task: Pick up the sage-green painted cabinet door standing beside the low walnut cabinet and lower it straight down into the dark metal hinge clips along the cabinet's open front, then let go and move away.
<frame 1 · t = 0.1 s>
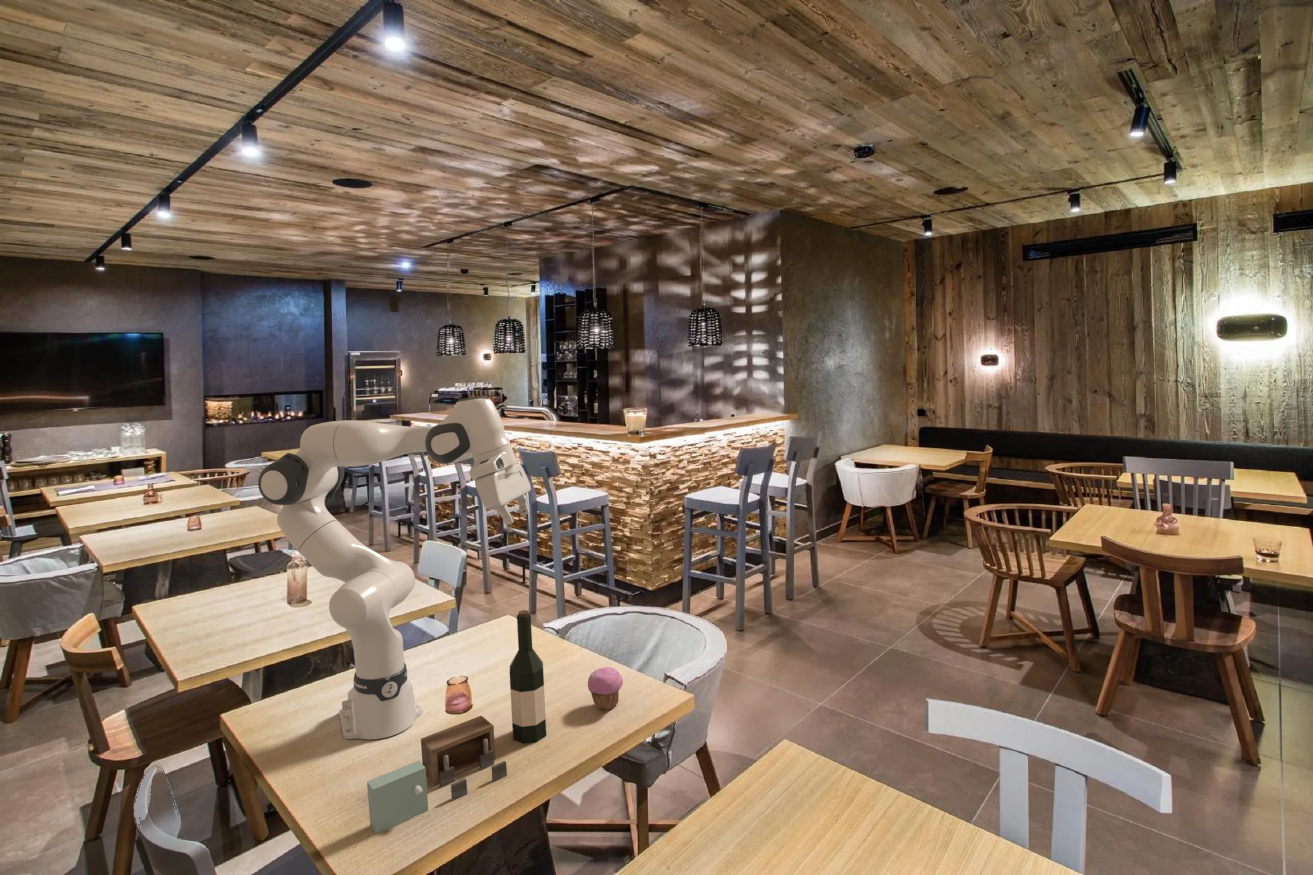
hand: (518, 519, 154), 52 cm above the table, tool tilted 20°, fingers open, 8 cm apart
cabinet: (459, 766, 147), on the table
wine bottle: (529, 734, 159), on the table
door: (399, 817, 131), on the table
cupcake: (606, 707, 171), on the table
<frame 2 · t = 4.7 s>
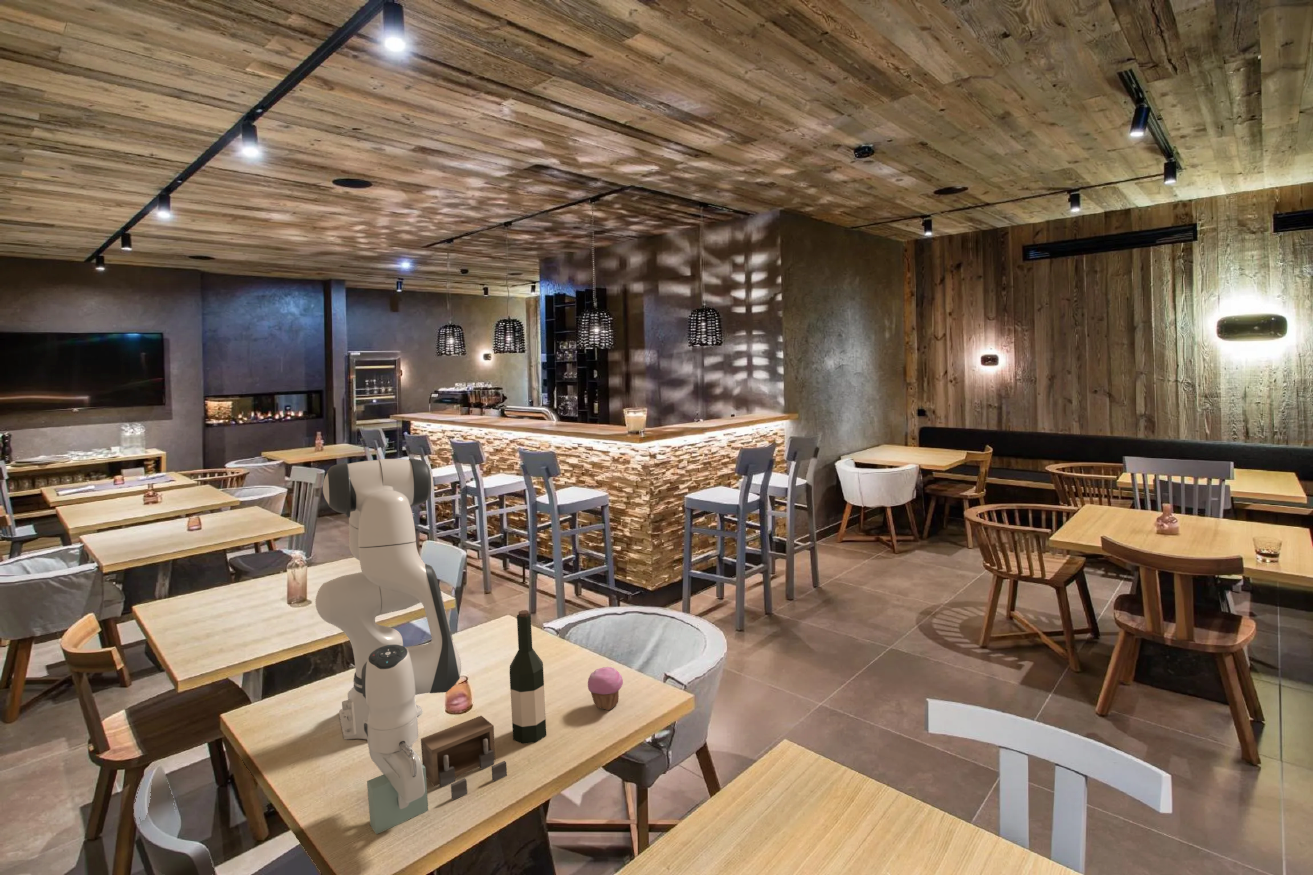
hand: (398, 800, 130), 4 cm above the table, tool pointing down, fingers closed on door, 3 cm apart
door: (399, 817, 131), on the table, touching gripper
everything else where it was.
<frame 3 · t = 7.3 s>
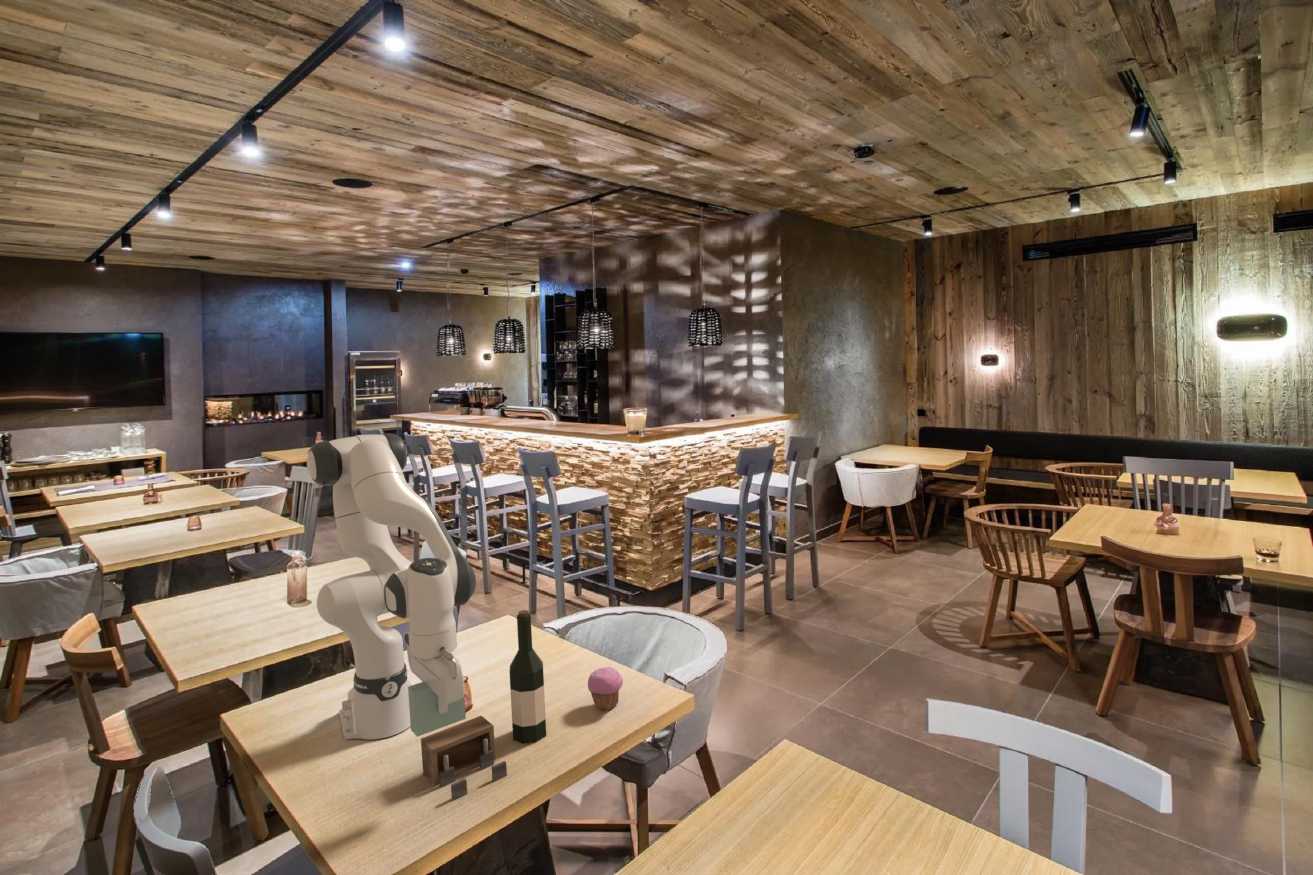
hand: (437, 706, 135), 19 cm above the table, tool pointing down, fingers closed on door, 3 cm apart
door: (438, 724, 135), point 15 cm above the table, touching gripper
everything else where it was.
when the fingers open (8 cm above the table, at t = 10.2 s): door drops 4 cm, on the table.
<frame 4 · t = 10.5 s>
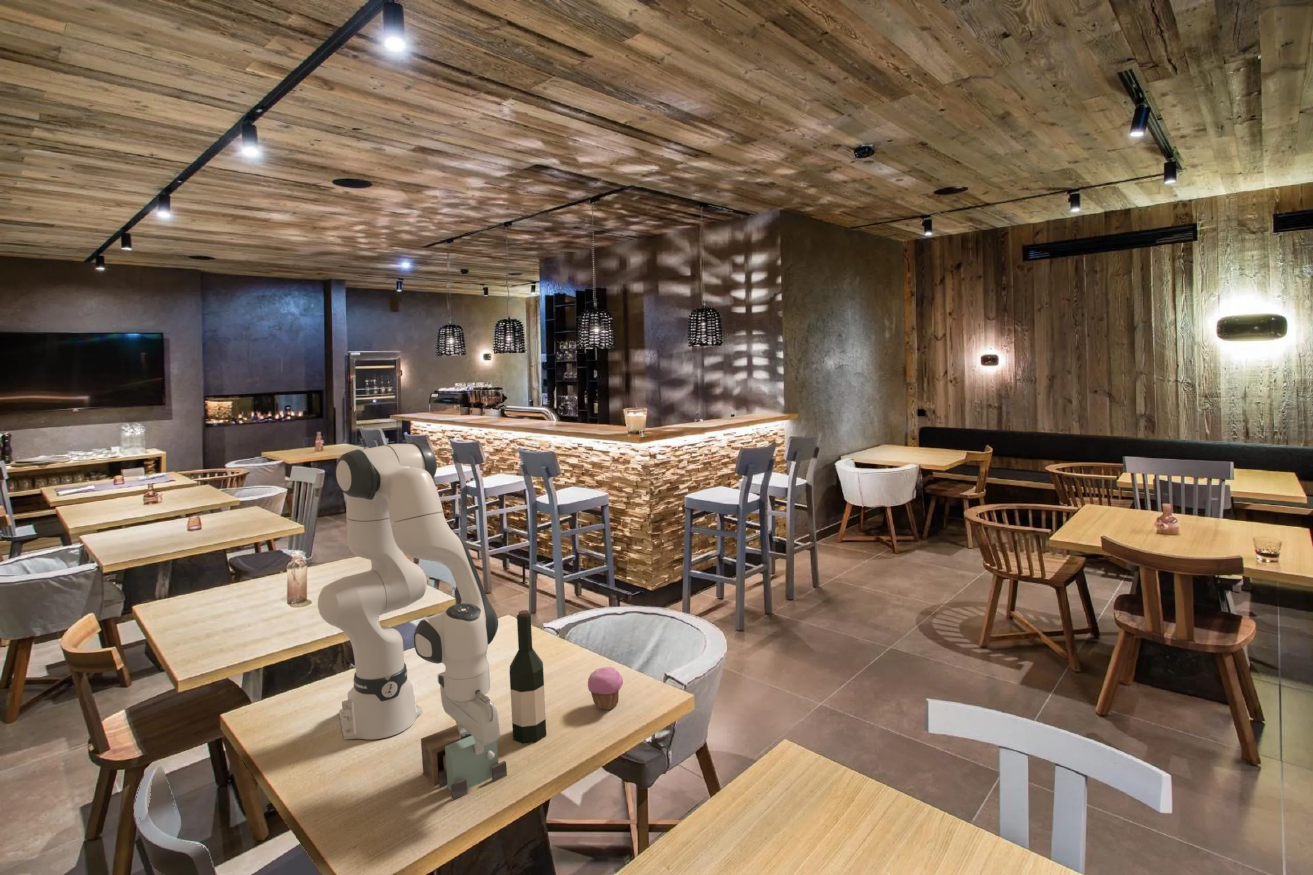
hand: (471, 746, 141), 8 cm above the table, tool pointing down, fingers open, 5 cm apart
door: (473, 780, 142), on the table
everything else where it was.
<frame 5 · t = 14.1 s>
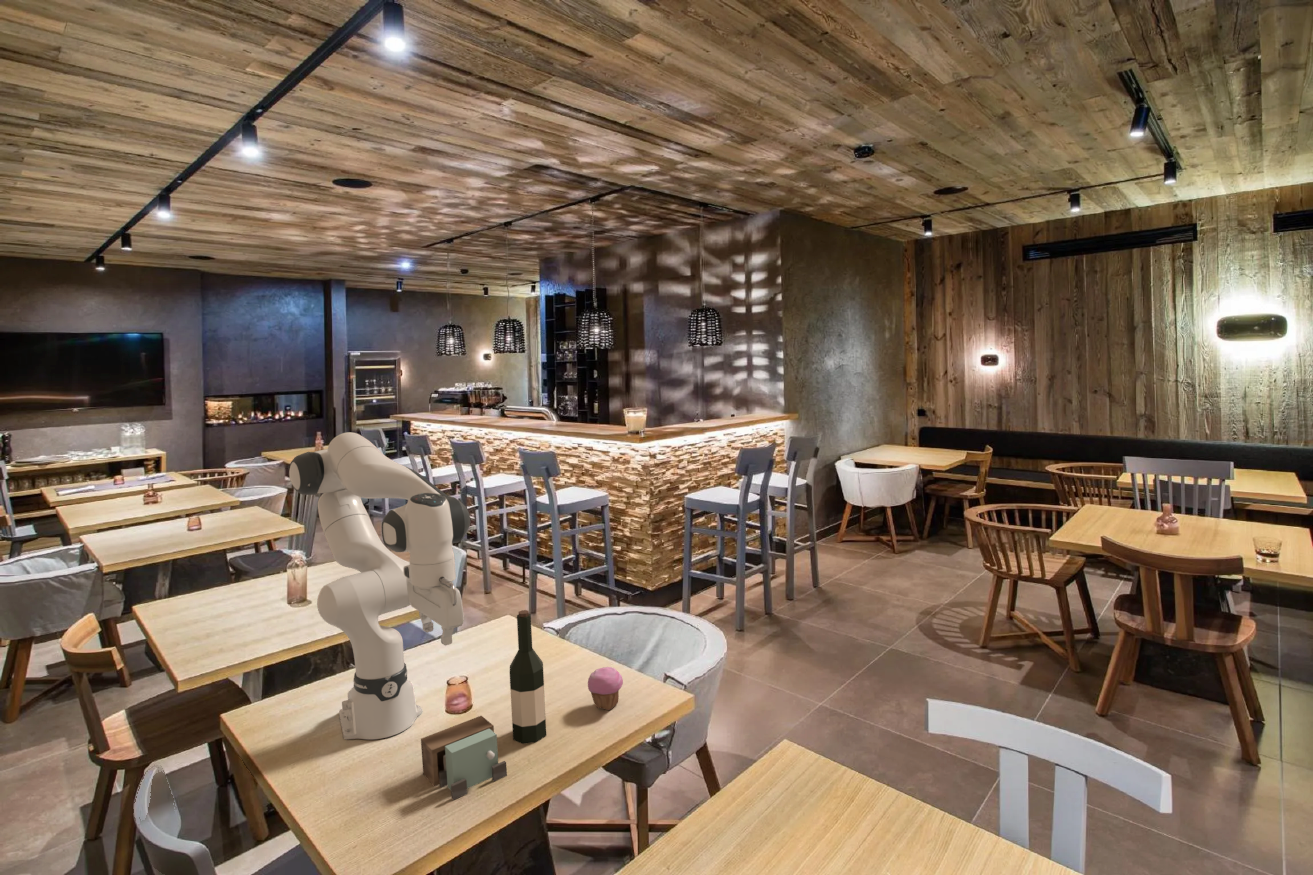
hand: (437, 637, 140), 31 cm above the table, tool pointing down, fingers open, 8 cm apart
nothing on the table moved.
at the end: door 0.1 cm from the target spot on the cabinet, point 0.0 cm above the cabinet's base; door tilted 0°; the gripper is holding nothing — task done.
